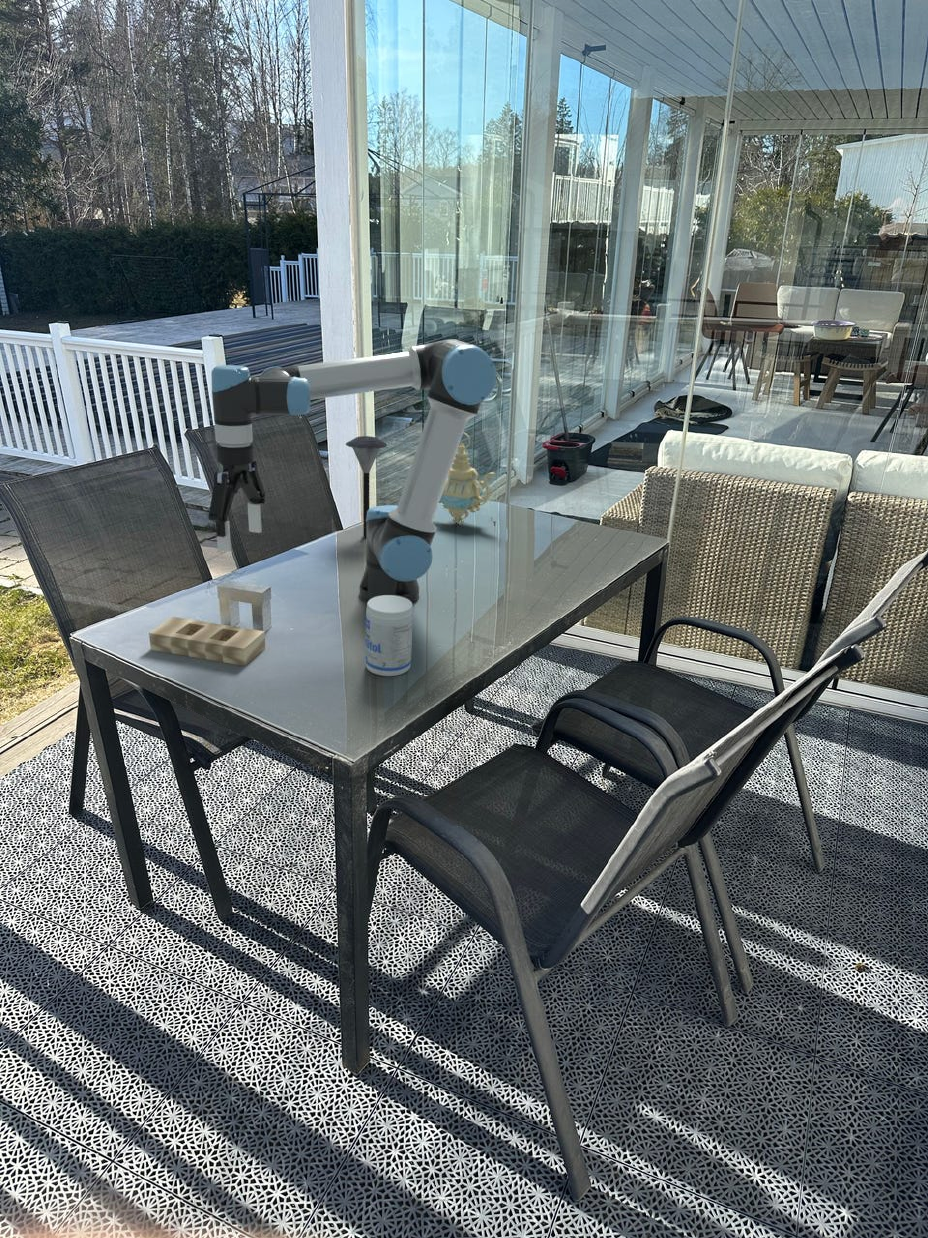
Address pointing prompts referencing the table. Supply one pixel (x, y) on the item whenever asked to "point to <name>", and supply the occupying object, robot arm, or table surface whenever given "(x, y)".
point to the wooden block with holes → (207, 641)
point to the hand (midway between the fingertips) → (240, 540)
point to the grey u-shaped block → (248, 593)
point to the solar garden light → (366, 465)
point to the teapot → (464, 487)
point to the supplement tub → (388, 635)
